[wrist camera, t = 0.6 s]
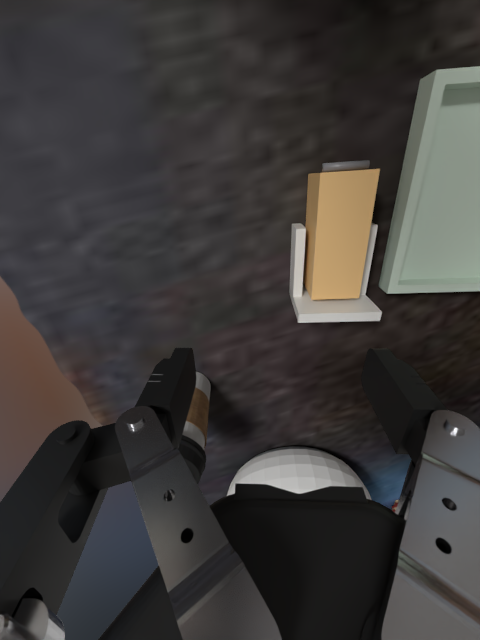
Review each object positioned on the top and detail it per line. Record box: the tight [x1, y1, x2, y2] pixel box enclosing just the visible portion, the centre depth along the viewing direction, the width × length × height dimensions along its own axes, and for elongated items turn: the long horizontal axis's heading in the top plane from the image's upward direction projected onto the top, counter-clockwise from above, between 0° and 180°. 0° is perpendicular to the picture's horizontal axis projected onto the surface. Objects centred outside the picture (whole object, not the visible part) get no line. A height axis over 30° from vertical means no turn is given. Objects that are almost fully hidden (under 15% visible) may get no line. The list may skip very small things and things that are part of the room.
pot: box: [227, 446, 372, 500], centre depth 46 cm, size 29×26×17 cm
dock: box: [289, 223, 382, 323], centre depth 29 cm, size 9×8×8 cm
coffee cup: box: [177, 372, 211, 484], centre depth 36 cm, size 8×8×15 cm
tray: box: [379, 66, 480, 294], centre depth 27 cm, size 20×14×2 cm
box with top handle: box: [303, 160, 380, 300], centre depth 28 cm, size 13×5×6 cm, turn 3°
